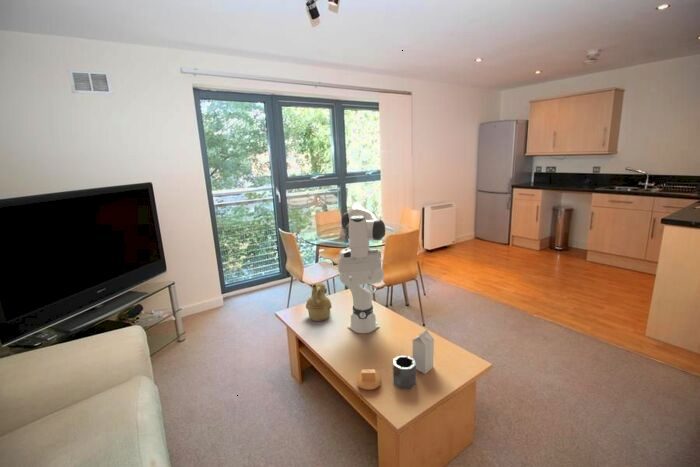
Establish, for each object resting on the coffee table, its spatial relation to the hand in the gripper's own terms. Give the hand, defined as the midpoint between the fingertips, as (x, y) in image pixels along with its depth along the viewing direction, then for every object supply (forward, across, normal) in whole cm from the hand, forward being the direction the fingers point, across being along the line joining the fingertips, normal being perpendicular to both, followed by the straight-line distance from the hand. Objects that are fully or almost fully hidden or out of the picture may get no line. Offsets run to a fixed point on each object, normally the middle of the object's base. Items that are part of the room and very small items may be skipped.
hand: (360, 279), depth 148 cm
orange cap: (+44, 0, +16) cm, 47 cm away
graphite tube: (+44, -16, +17) cm, 50 cm away
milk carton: (+44, -27, +9) cm, 53 cm away
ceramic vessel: (+43, +19, -53) cm, 71 cm away
